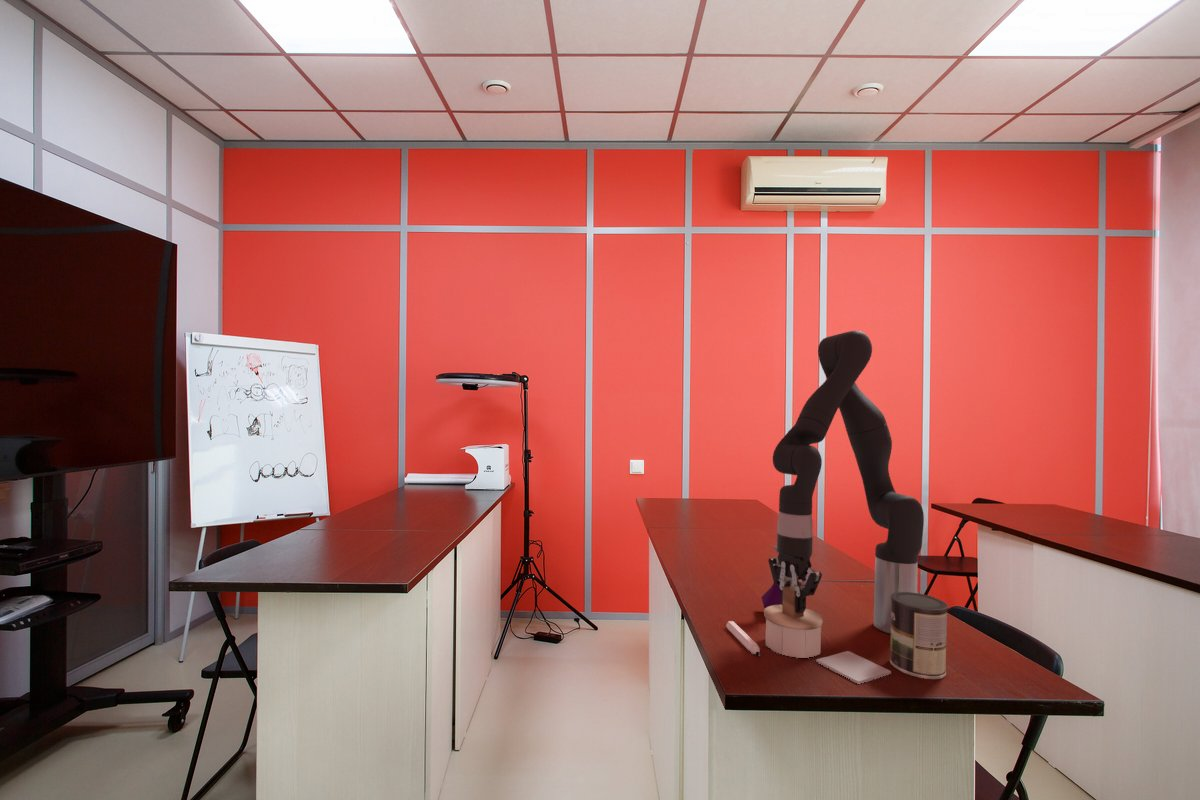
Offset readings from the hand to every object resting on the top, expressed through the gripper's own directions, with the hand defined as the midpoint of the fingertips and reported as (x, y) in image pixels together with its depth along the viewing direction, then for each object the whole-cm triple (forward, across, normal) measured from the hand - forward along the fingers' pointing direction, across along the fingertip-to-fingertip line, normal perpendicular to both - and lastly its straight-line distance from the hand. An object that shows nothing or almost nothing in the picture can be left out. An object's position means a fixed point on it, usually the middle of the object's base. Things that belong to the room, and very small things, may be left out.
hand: (792, 609), depth 121 cm
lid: (+2, 0, 0) cm, 2 cm away
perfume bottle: (+9, +15, -11) cm, 21 cm away
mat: (+8, -12, -4) cm, 16 cm away
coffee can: (+9, -18, -17) cm, 26 cm away
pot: (+8, 0, 0) cm, 8 cm away
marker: (+9, +6, +8) cm, 14 cm away
